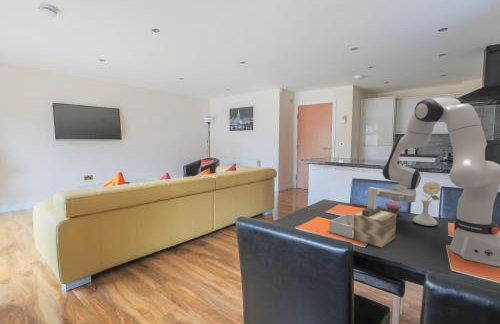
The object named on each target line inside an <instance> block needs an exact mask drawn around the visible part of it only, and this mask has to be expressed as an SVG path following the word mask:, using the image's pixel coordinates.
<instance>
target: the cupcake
mask: <svg viewBox="0 0 500 324" xmlns="http://www.w3.org/2000/svg"><path fill="white" fill-rule="evenodd" d="M385 207H387V212H389V213H394V214H396V217H398V216H399V211H400V209H401V208H402V203H401V201H399V202H396V201H393V200H392V199H389V200H387V201H386V202H385Z"/></svg>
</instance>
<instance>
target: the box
mask: <svg viewBox="0 0 500 324" xmlns="http://www.w3.org/2000/svg"><path fill="white" fill-rule="evenodd" d="M351 224H353V225H354V214H351V213H350V214H349V213H347V214H344V215H341V216H339V217H336V218H334V219H331V220H329V233H331V234H334V235H338V236H341V237H344V238H347V239H350V240H352V239H353V230H352V228H353V227H352V226H348V225H351Z"/></svg>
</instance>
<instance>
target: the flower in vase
mask: <svg viewBox="0 0 500 324" xmlns="http://www.w3.org/2000/svg"><path fill="white" fill-rule="evenodd" d="M441 189H442V188H441V184H439V183H438V182H436V181H434V180H433V181H428V182H425V183H424V184H423V185H422V191H423V193H425V194H423V193H421V195H422V196H423V197H426V198H427V199H426V198H425V199H424V198H422V199H420V201H421V203H422V206H423V209H422V212H421V213H420V214H418V215H415V216H414V217H412V221H413V222H414V223H415V224H418V225H421V226H426V227H428V226H429V227H433V226H436V225H438V222H437V220H436V219H435V218H434V217H433V216H432V215H430V214H429V207H430V204H431V203H432V201H439V200H441V199H440V197H439V196H437V194H439V192H440V191H441ZM426 194H427V195H429V197H428V196H427V195H426ZM431 199H432V200H431Z"/></svg>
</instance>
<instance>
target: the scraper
mask: <svg viewBox="0 0 500 324" xmlns="http://www.w3.org/2000/svg"><path fill="white" fill-rule="evenodd" d="M377 188H378V187H375V186H371V187H367V203H366V204H367V208H363V209H362V215H363V216H368V217H369V216H371V215H374V214H376V213H378V212H380V211H381V206H379V205H378V204H377V201H378V200H377V199H378V197H377Z"/></svg>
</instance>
